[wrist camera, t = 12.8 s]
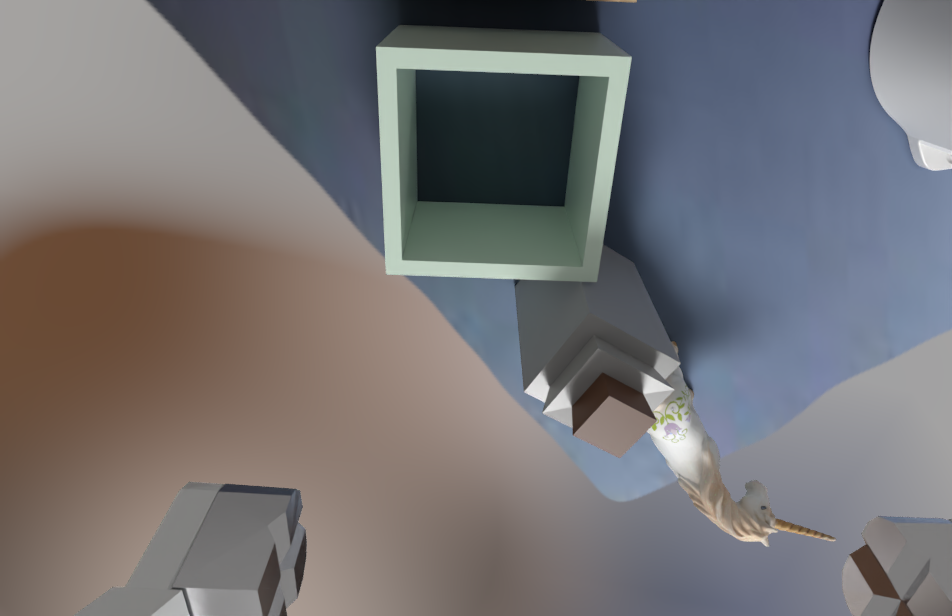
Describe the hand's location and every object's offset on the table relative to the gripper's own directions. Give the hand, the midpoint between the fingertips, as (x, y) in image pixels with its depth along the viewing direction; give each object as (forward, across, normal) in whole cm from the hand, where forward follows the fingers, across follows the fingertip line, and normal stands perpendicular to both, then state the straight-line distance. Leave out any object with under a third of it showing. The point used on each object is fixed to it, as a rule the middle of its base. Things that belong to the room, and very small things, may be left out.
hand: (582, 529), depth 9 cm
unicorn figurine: (+38, -18, +23) cm, 48 cm away
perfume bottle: (+38, -7, +15) cm, 41 cm away
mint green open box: (+37, 0, +4) cm, 38 cm away
